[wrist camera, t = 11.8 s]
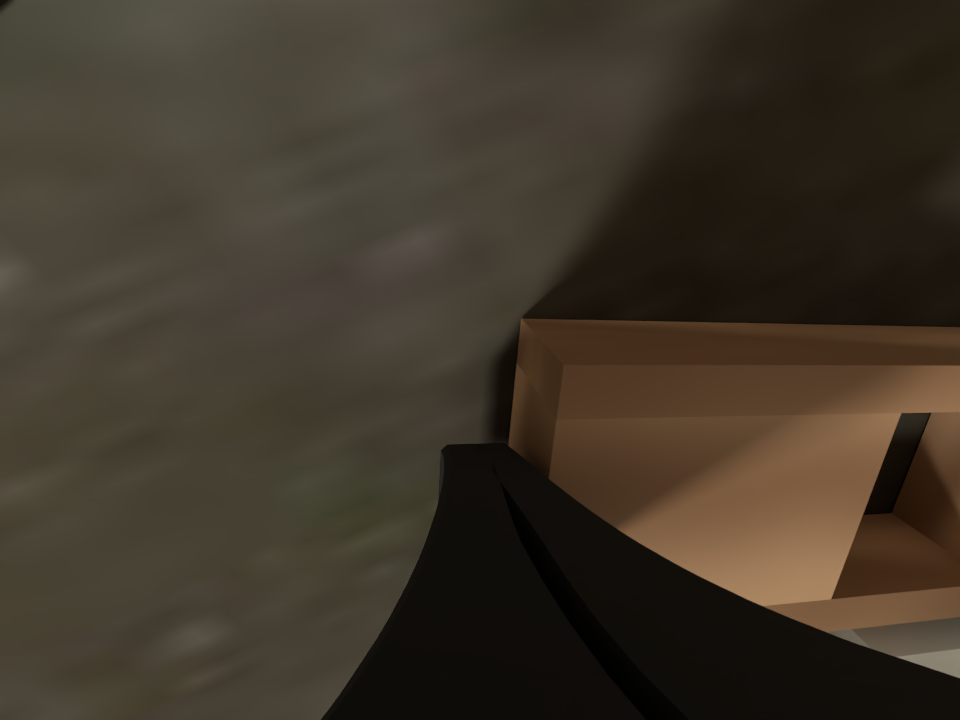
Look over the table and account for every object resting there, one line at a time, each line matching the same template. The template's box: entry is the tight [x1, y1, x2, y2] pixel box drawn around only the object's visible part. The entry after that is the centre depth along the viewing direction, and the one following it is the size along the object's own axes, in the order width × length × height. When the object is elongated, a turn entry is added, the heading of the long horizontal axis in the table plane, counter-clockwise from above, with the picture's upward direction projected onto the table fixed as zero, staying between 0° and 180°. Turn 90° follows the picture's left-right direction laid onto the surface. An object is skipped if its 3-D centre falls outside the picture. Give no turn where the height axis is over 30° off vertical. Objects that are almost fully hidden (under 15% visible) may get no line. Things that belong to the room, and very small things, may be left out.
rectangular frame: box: [508, 319, 960, 632], centre depth 11 cm, size 6×12×2 cm, turn 86°
